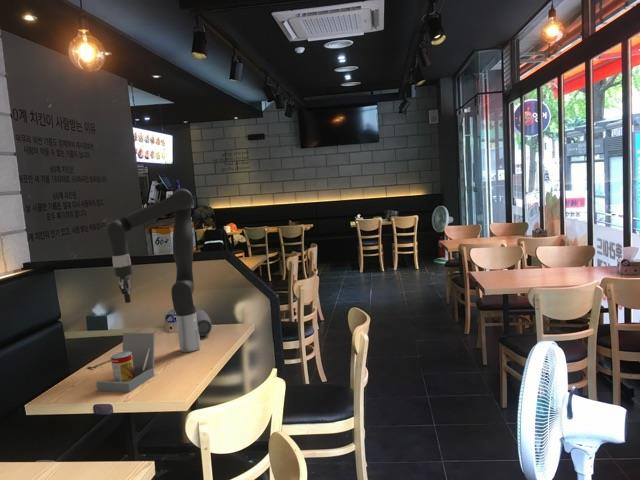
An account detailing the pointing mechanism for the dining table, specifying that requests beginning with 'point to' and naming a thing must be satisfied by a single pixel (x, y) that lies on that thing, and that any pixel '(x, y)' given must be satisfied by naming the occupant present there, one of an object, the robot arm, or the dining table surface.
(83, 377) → the dining table surface
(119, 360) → the canned food
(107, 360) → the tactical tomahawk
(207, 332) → the bluetooth speaker
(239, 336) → the dining table surface
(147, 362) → the case
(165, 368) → the dining table surface
